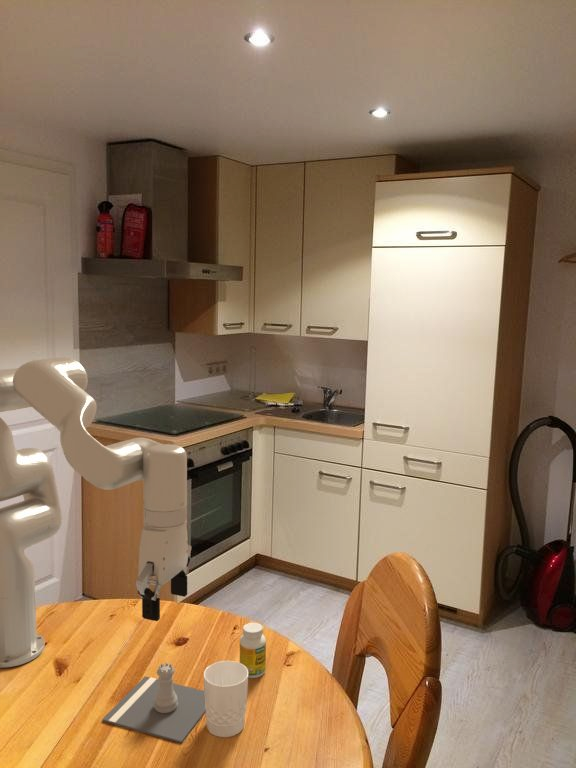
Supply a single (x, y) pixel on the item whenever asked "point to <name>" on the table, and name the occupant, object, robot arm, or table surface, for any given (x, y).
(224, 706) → the white cup
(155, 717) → the mat
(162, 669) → the rook chess piece
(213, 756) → the table surface
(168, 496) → the robot arm
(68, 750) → the table surface
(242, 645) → the supplement bottle
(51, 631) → the table surface
